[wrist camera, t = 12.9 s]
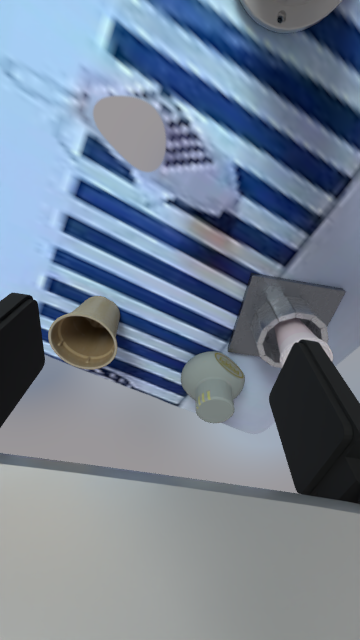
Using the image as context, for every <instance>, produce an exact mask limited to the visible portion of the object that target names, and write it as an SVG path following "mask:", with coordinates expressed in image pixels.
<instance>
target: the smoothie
mask: <svg viewBox="0 0 360 640" xmlns="http://www.w3.org/2000/svg"><path fill="white" fill-rule="evenodd" d="M274 329H275V334H276V338H277V342H278V347H279V351H280V365H281V368H282V367H283V365H284V363H285V361H286V359H287V356H288V354H289V352H290V350H291V348H292V346H293V344H294V343H295V342H299V341H300V340H302V339H304V340H310V341H316V342H319V343H320V345H321V346H322V348H323V349H324V351H325V352H326V354H327V355H328V357H329V358H330V360H331V361H333V354H332V351H331V349H330V347H329V346H328V344H327V343H326V342H324V341H323V340H321V339H318V338H317V337H316V336H315V335H314V334H313V333H312V332H311V331H310V330H309V329H308V328H307V327H306V325H305V324H304V323H303V322H302V321H301V320H300V319H299V318H292V319H288V320H285V321H281V322H279V323H278V324H276V325H275V326H274Z"/></svg>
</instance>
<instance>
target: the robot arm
mask: <svg viewBox="0 0 360 640" xmlns="http://www.w3.org/2000/svg"><path fill="white" fill-rule="evenodd" d="M342 1H343V0H240V2H241V4H242V5H243V7H244V9H245V10H246V12H247V13H248V14H249V15H250V16H251V17H252V18H253V19H254V20H255V22H256V23H258V24H259V25H261V26H263V27H264V28H266V29H268V30H271V31H274V32H278V33H294V32H298V31H302V30H305V29H307V28H309V27H311V26H313V25H315V24H317V23H318V22H320V21H321V20H322V19H324V18H325V17H326V16H328V15H329V14H330V13H331V12H332V11H333V10H334V9H335V8H336V7H337V6H338V5H339V4H340V3H341V2H342ZM279 17H280V18H281V19H282V22H281V23H278V21H277V19H278V18H279ZM44 363H45V357H44V349H43V341H42V333H41V325H40V317H39V309H38V303H37V301H36V300H33V298H32V296H30V295H25V294H19V293H11V294H9V295H8V296H7V297H5V298H4V299H3V300H1V301H0V427H1V426H2V425H3V423H4V422H5V420H6V419H7V417H8V416H9V415H10V413H11V412H12V411H13V409H14V408H15V406H16V405H17V403H18V402H19V401H20V399H21V398H22V396H23V395H24V394H25V392H26V391H27V389H28V388H29V386H30V385H31V384H32V382H33V381H34V380H35V378H36V377H37V375H38V374H39V373H40V371H41V370H42V368H43V366H44ZM269 402H270V406H271V409H272V412H273V416H274V419H275V422H276V425H277V429H278V432H279V436H280V439H281V442H282V445H283V449H284V452H285V455H286V459H287V462H288V465H289V469H290V472H291V475H292V478H293V482H294V485H295V488H296V490H297V492H298V493H299V494H296V493H290V492H282V491H276V490H269V489H262V488H254V487H248V486H240V485H233V484H226V483H219V482H212V481H205V480H197V479H190V478H183V477H175V476H169V475H161V474H153V473H147V472H139V471H132V470H124V469H117V468H110V467H102V466H95V465H88V464H80V463H72V462H64V461H57V460H49V459H42V458H34V457H26V456H18V455H10V454H3V453H0V640H360V403H359V402H358V401H357V399H356V397H355V396H354V394H353V393H352V391H351V390H350V388H349V387H348V386H347V384H346V382H345V381H344V380H343V378H342V377H341V375H340V373H339V372H338V370H337V369H336V367H335V366H334V364H333V363H332V361H331V360H330V358H329V357H328V355H327V354H326V352H325V351H324V349H323V348H322V346H321V345H320V343H319V342H316V341H310V340H304V339H302V340H300V341H299V342H295V343H294V344H293V346H292V348H291V350H290V352H289V354H288V356H287V359H286V361H285V363H284V365H283V367H282V369H281V371H280V373H279V376H278V378H277V380H276V382H275V384H274V386H273V388H272V390H271V393H270V396H269Z"/></svg>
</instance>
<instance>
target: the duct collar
mask: <svg viewBox="0 0 360 640" xmlns="http://www.w3.org/2000/svg"><path fill="white" fill-rule="evenodd" d="M345 292H346V291H345V290H343V289H341V288H335V287H330V286H324V285H318V284H312V283H306V282H301V281H295V280H289V279H283V278H277V277H271V276H266V275H260V274H254V273H251V276H250V279H249V282H248V285H247V288H246V291H245V295H244V298H243V301H242V304H241V307H240V310H239V313H238V317H237V320H236V323H235V326H234V329H233V332H232V336H231V339H230V342H229V345H228V352H234V353H240V354H247V355H253V356H259V357H261V358H262V359H263V360H264V361H266V362H267V363H268V364H270V365H271V366H273V367H279V368H281V365H280V351H279V347H278V342H277V338H276V334H275V329H274V326H275V325H276V324H278V323H279V322H281V321H285V320H288V319H292V318H299V319H300V320H301V321H302V322H303V323H304V324H305V325H306V327H307V328H308V329H309V330H310V331H311V332H312V333H313V334H314V335H315V336H316V337H317V338H318V339H321V340H323V341H324V342H326V343H327V342H328V333H327V326H328V324H329V322H330V321H331V319H332V317H333V315H334V313H335V311H336V309H337V307H338V305H339V304H340V302H341V300H342V298H343V296H344V294H345Z"/></svg>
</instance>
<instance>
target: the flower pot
mask: <svg viewBox="0 0 360 640" xmlns="http://www.w3.org/2000/svg"><path fill="white" fill-rule="evenodd" d="M119 319H120V312H119V309H118V307H117V306H116V304H115V303H114V302H112V301H110V300H108V299H107V298H105V297H102V296H94V297H91V298H89V299H87V300H86V301H85V302H84V303H82V304H81V305H80V306H79V307H78V308H76V309H75V310H74V311H73V312H72V313H69V314H66V315H63V316H61V317H59V318H58V319H56V320H55V321H54V322H53V323H52V325H51V327H50V329H49V333H48V338H49V342H50V345H51V347H52V349H53V350H54V352H55V353H56V354H57V355H58V356H59V357H60V358H61V359H62V360H64V361H65V362H67V363H69V364H70V365H72V366H75V367H78V368H82V369H98V368H102V367H104V366H106V365H108V364H109V363H110V362H111V361H113V359H114V358H115V356H116V353H117V341H116V333H117V328H118V323H119Z"/></svg>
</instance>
